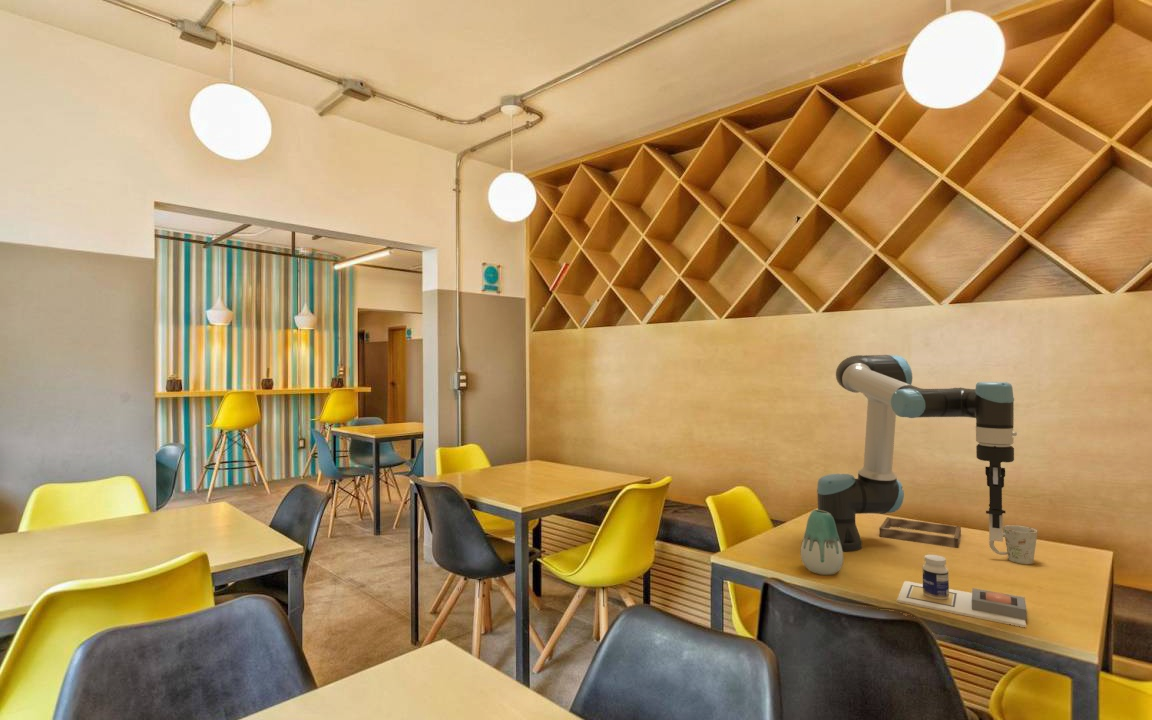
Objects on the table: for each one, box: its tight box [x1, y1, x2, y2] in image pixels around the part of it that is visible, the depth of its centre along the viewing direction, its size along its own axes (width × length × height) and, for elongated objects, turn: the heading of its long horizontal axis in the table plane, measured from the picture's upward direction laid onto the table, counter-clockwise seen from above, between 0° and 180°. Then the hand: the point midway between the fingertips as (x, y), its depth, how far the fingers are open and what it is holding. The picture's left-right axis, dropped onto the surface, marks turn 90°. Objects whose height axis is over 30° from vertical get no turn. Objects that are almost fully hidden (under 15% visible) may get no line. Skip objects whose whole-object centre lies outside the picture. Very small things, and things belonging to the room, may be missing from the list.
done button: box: [986, 591, 1011, 605], centre depth 141 cm, size 5×5×3 cm
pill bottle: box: [922, 554, 950, 600], centre depth 149 cm, size 6×6×10 cm
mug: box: [988, 524, 1038, 565], centre depth 178 cm, size 8×13×10 cm, turn 78°
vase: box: [800, 509, 844, 576], centre depth 170 cm, size 12×12×18 cm
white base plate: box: [896, 580, 1028, 629], centre depth 146 cm, size 26×16×3 cm, turn 54°
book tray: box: [878, 517, 962, 549], centre depth 205 cm, size 23×18×3 cm
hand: (996, 540), depth 142 cm, fingers closed
